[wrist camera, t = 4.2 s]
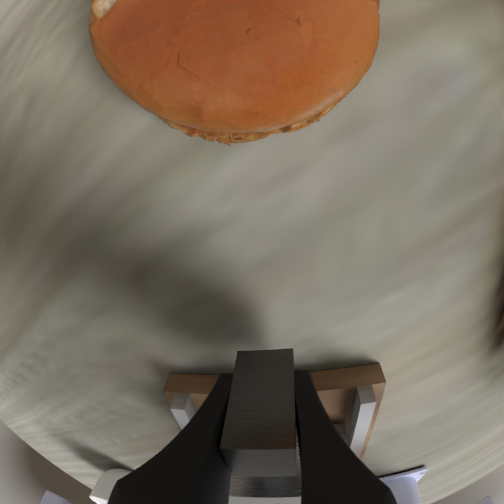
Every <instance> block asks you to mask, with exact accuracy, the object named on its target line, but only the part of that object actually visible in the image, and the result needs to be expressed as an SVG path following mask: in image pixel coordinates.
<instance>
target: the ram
mask: <svg viewBox="0 0 504 504" xmlns="http://www.w3.org/2000/svg"><path fill="white" fill-rule="evenodd" d="M334 426H335V427H336V429H337V431H338V432H339V434H340V435H341V436H342V438H343V439H344V441H345V442H346V443H347V445H348V440H347V433H346V426H345V423H342V424H334ZM220 450H221V452H222V455H223V457H224V459H225V461H226V463H227V465H228V467H229V469H230V472H231V479H230V490H229V503H228V504H301V465H300V456H299V447H298V439H297V431H296V414H295V390H294V356H293V349H277V350H257V351H238V352H237V357H236V363H235V368H234V374H233V379H232V385H231V390H230V396H229V401H228V406H227V412H226V417H225V423H224V428H223V434H222V439H221V444H220Z"/></svg>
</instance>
